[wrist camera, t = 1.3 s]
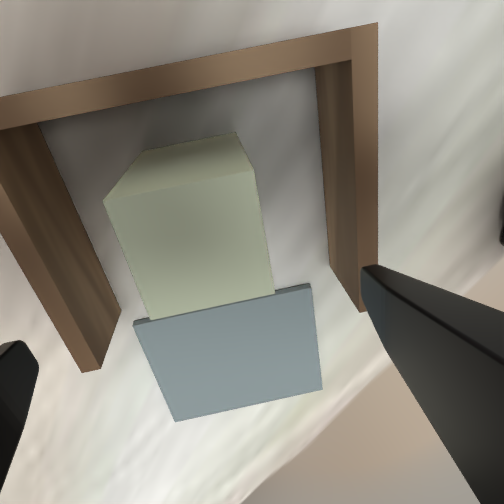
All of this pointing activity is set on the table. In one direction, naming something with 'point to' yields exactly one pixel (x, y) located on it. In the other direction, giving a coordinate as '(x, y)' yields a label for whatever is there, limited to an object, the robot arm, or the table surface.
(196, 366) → the mat
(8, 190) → the open frame
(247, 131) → the table surface
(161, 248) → the block
